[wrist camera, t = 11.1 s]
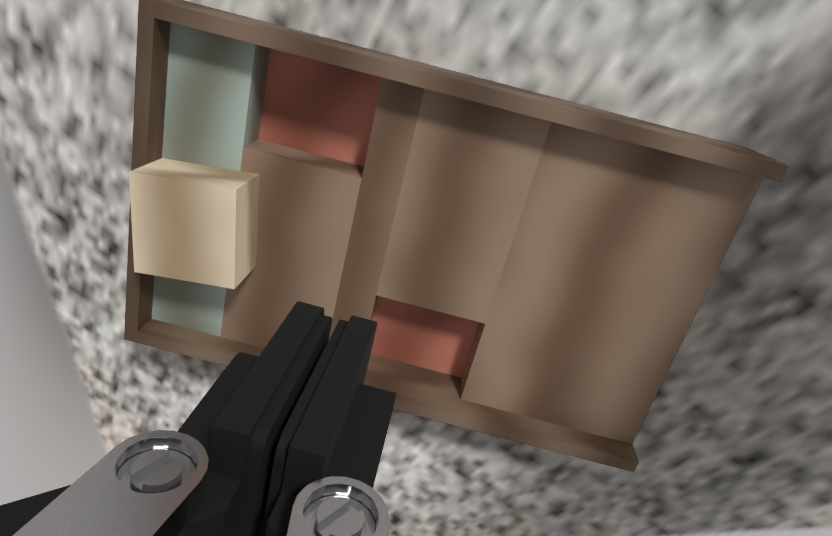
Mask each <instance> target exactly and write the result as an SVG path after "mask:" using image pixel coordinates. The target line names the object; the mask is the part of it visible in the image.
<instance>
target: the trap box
mask: <svg viewBox="0 0 832 536" xmlns="http://www.w3.org/2000/svg"><path fill="white" fill-rule="evenodd" d="M161 158H164V159H170V160H176V161H182V162H188V163H194V164H201V165H207V166H213V167H219V168H225V169H231V170H237V171H243V172H249V173H255V174H259V200H258V228H257V256H256V267H255V268H254V269H253V270H252V271H251V272H250V273H249V274H248V275H247V276H246V277H245V278H244V279H243V281H242V282H241V283H240V284H239V285H238V286H237V287H236V288H235V289H230V288H225V287H219V286H213V285H207V284H201V283H195V282H190V281H184V280H178V279H172V278H166V277H161V276H155V275H149V274H143V273H137V272H134V258H133V240H132V221H131V203H130V218H129V241H128V264H127V287H126V310H125V334H124V339H126V340H129V341H133V342H137V343H141V344H145V345H149V346H152V347H156V348H160V349H164V350H168V351H172V352H175V353H179V354H183V355H187V356H191V357H195V358H198V359H202V360H206V361H210V362H214V363H218V364H221V365H225V366H228V365H229V363H230V362H231V361H232V359H233V358H234V357H235V356H236V355H237V354H238V353H240V352H244V353H247V354H251V355H255V356H260V354H261V353H262V351H263V350H264V348H265V347H266V346H267V344H268V343H269V341H270V340H271V338H272V337H273V335H274V334H275V332H276V331H277V330H278V328H279V327H280V325H281V324H282V322H283V321H284V319H285V318H286V316H287V315H288V314H289V312H290V311H291V309H292V308H293V306H294V305H295V303H296V302H297V301H300V302H304V303H308V304H312V305H315V306H319V307H323V308H324V315H326V316H330V317H332V325H331V330H330V335H329V339H330V337H331V335H332V333H333V331H334V329H335V327H336V325H337V323H338V321H339V320H340V319H341V320H345V321H349V319H350V317H351V316H352V315H354V316H357V317H361V318H365V319H369V320H373V321H376V322H377V329H376V333H375V337H374V342H373V346H372V350H371V355H370V359H369V363H368V368H367V372H366V376H365V381H364V384H365V385H368V386H372V387H376V388H380V389H383V390H387V391H391V392H395V393H397V394H396V398H395V402H394V406H393V409H394V410H398V411H402V412H405V413H409V414H413V415H417V416H421V417H425V418H428V419H432V420H436V421H440V422H444V423H448V424H452V425H455V426H459V427H463V428H467V429H471V430H475V431H478V432H482V433H486V434H490V435H494V436H498V437H501V438H505V439H509V440H513V441H517V442H521V443H524V444H528V445H532V446H536V447H540V448H544V449H547V450H551V451H555V452H559V453H563V454H567V455H570V456H574V457H578V458H582V459H586V460H590V461H593V462H597V463H601V464H605V465H609V466H613V467H616V468H620V469H624V470H628V471H632V472H634V471H635V469H636V467H637V465H638V463H639V461H638V459H637V456H636V453H635V451H634V448H633V445H632V443H633V441H634V439H635V437H636V435H637V433H638V431H639V429H640V427H641V425H642V423H643V421H644V419H645V417H646V415H647V413H648V411H649V409H650V407H651V405H652V403H653V400H654V398H655V396H656V394H657V392H658V390H659V388H660V386H661V384H662V382H663V380H664V378H665V376H666V374H667V372H668V370H669V368H670V366H671V364H672V362H673V360H674V358H675V356H676V354H677V352H678V350H679V348H680V345H681V343H682V341H683V339H684V337H685V335H686V333H687V331H688V329H689V327H690V325H691V323H692V321H693V319H694V317H695V315H696V313H697V311H698V309H699V307H700V305H701V303H702V301H703V299H704V297H705V295H706V292H707V290H708V288H709V286H710V284H711V282H712V280H713V278H714V276H715V274H716V272H717V270H718V268H719V266H720V264H721V262H722V260H723V258H724V256H725V254H726V252H727V250H728V248H729V246H730V244H731V242H732V240H733V237H734V235H735V233H736V231H737V229H738V227H739V225H740V223H741V221H742V219H743V217H744V215H745V213H746V211H747V209H748V207H749V205H750V203H751V201H752V199H753V197H754V195H755V193H756V191H757V189H758V187H759V184H760V182H761V180H762V178H763V177H765V178H769V179H772V180H776V181H780V182H781V180H782V178H783V176H784V174H785V172H786V170H787V168H788V166H787V165H785V164H782V163H780V162H778V161H776V160H773V159H771V158H769V157H767V156H765V155H762V154H760V153H758V152H756V151H753V150H751V149H749V148H745V147H741V146H738V145H734V144H730V143H726V142H722V141H718V140H715V139H711V138H707V137H703V136H699V135H696V134H692V133H688V132H684V131H680V130H676V129H673V128H669V127H665V126H661V125H657V124H653V123H650V122H646V121H642V120H638V119H634V118H631V117H627V116H623V115H619V114H615V113H611V112H608V111H604V110H600V109H596V108H592V107H588V106H585V105H581V104H577V103H573V102H569V101H566V100H562V99H558V98H554V97H550V96H546V95H543V94H539V93H535V92H531V91H527V90H524V89H520V88H516V87H512V86H508V85H504V84H501V83H497V82H493V81H489V80H485V79H481V78H478V77H474V76H470V75H466V74H462V73H459V72H455V71H451V70H447V69H443V68H439V67H436V66H432V65H428V64H424V63H420V62H416V61H413V60H409V59H405V58H401V57H397V56H394V55H390V54H386V53H382V52H378V51H374V50H371V49H367V48H363V47H359V46H355V45H352V44H348V43H344V42H340V41H336V40H332V39H329V38H325V37H321V36H317V35H313V34H309V33H306V32H302V31H298V30H294V29H290V28H287V27H283V26H279V25H275V24H271V23H267V22H264V21H260V20H256V19H252V18H248V17H244V16H241V15H237V14H233V13H229V12H225V11H222V10H218V9H214V8H210V7H206V6H202V5H199V4H195V3H191V2H187V1H183V0H139V10H138V33H137V56H136V79H135V102H134V125H133V149H132V170H134V169H137V168H139V167H142V166H144V165H146V164H149V163H151V162H154V161H156V160H159V159H161Z"/></svg>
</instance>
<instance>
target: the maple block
mask: <svg viewBox="0 0 832 536" xmlns="http://www.w3.org/2000/svg"><path fill="white" fill-rule="evenodd" d="M129 185H130V203H131V221H132V240H133V258H134V272H137V273H143V274H149V275H155V276H161V277H166V278H172V279H178V280H184V281H190V282H195V283H201V284H207V285H213V286H219V287H225V288H230V289H235V288H236V287H237V286H238V285H239V284H240V283H241V282H242V281H243V279H244V278H245V277H246V276H247V275H248V274H249V273H250V272H251V271H252V270H253V269H254V268H255V267H256V256H257V228H258V200H259V174H255V173H249V172H243V171H237V170H231V169H225V168H219V167H213V166H207V165H201V164H194V163H188V162H182V161H176V160H170V159H164V158H161V159H159V160H156V161H154V162H151V163H149V164H146V165H144V166H142V167H139V168H137V169H134V170H132V171H129Z"/></svg>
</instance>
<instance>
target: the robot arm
mask: <svg viewBox="0 0 832 536" xmlns="http://www.w3.org/2000/svg"><path fill="white" fill-rule="evenodd" d="M331 325H332V317H330V316H326V315H324V308H323V307H319V306H315V305H312V304H308V303H304V302H300V301H297V302H296V303H295V305H294V306H293V308H292V309H291V311H290V312H289V314H288V315H287V316H286V318H285V319H284V321H283V322H282V324H281V325H280V327H279V328H278V330H277V331H276V332H275V334H274V335H273V337H272V338H271V340H270V341H269V343H268V344H267V346H266V347H265V348H264V350H263V351H262V353H261V354H260V356H255V355H251V354H247V353H244V352H240V353H238V354H237V355H236V356H235V357H234V358H233V359H232V361H231V362H230V363H229V365H228V366H227V367H226V369H225V370H224V371H223V372H222V374H221V375H220V376H219V378H218V379H217V380H216V382H215V383H214V384H213V386H212V387H211V388H210V390H209V391H208V392H207V394H206V395H205V396H204V397H203V399H202V400H201V401H200V403H199V404H198V405H197V407H196V408H195V409H194V411H193V412H192V413H191V415H190V416H189V417H188V418H187V420H186V421H185V422H184V424H183V425H182V426H181V428H180V429H179V430H178V432H176V431H165V430H157V431H151V432H145V433H141V434H138V435H136V436H133V437H131V438H128V439H127V440H125V441H124V442H122V443H120V444H119V445H117V446H116V447H115V448H114V449H112V450H111V451H110V452H109V453H108V454H107V455H105V456H104V457H103V458H102V459H101V460H100V461H99V462H97V463H96V464H95V465H94V466H93V467H92V468H90V470H88V471H87V472H86V473H85V474H84V475H82V476H81V477H80V478H79V479H78V480H77V481H75V482H74V483H73V484H72V485H69V486H66V487H62V488H59V489H56V490H52V491H49V492H45V493H42V494H39V495H35V496H32V497H28V498H25V499H21V500H18V501H14V502H11V503H8V504H4V505H1V506H0V536H389V515H388V509H387V507H386V505H385V503H384V501H383V499H382V497H381V496H380V495H379V494H378V493H377V492H376V491H375V490H374V489H373V485H374V481H375V477H376V473H377V469H378V465H379V461H380V457H381V454H382V450H383V446H384V442H385V438H386V434H387V430H388V426H389V422H390V418H391V414H392V410H393V406H394V402H395V398H396V394H397V393H395V392H391V391H387V390H383V389H380V388H376V387H372V386H368V385H365V384H364V381H365V376H366V372H367V368H368V363H369V359H370V355H371V350H372V346H373V342H374V337H375V333H376V329H377V322H376V321H373V320H369V319H365V318H361V317H357V316H354V315H352V316H351V317H350V319H349V321H345V320H341V319H340V320H339V321H338V323H337V325H336V327H335V329H334V331H333V333H332V335H331V337H330V339H329V335H330V330H331Z"/></svg>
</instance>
